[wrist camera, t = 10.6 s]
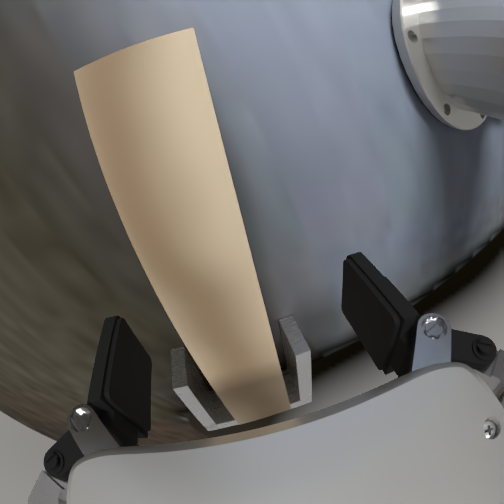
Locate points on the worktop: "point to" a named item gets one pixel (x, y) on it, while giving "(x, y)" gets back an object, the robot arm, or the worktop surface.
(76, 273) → the worktop surface
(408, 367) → the robot arm
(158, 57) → the maple rail
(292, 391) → the cup bracket
